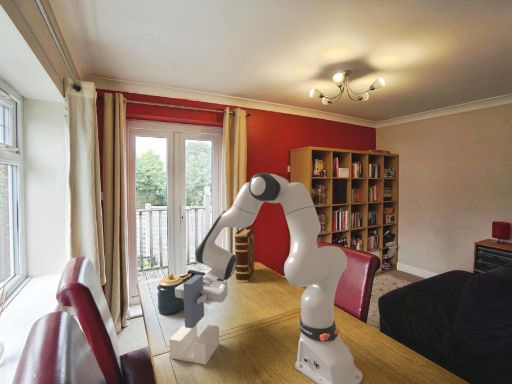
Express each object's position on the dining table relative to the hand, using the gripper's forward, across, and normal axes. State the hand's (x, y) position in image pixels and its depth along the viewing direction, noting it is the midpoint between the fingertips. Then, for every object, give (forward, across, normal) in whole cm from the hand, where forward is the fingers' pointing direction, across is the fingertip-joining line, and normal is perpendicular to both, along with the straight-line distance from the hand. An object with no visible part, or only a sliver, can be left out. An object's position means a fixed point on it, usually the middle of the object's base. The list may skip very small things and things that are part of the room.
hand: (190, 301), depth 97 cm
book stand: (-2, 0, +20) cm, 20 cm away
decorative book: (-79, -6, +20) cm, 82 cm away
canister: (-29, -27, +20) cm, 45 cm away
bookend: (-48, -25, +21) cm, 58 cm away
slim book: (-2, 0, +9) cm, 9 cm away
